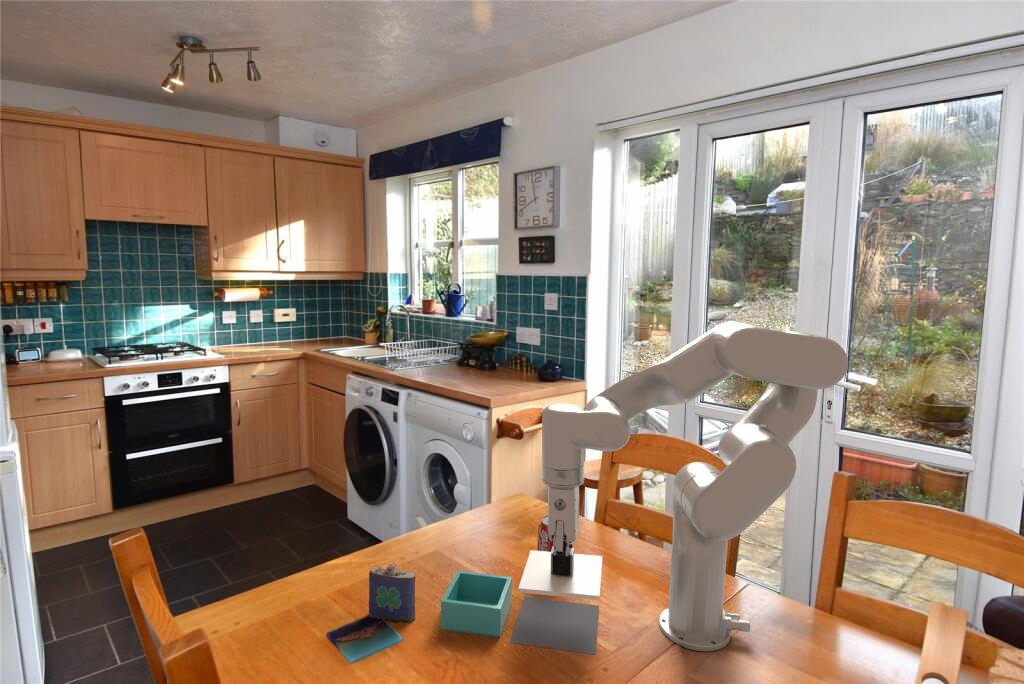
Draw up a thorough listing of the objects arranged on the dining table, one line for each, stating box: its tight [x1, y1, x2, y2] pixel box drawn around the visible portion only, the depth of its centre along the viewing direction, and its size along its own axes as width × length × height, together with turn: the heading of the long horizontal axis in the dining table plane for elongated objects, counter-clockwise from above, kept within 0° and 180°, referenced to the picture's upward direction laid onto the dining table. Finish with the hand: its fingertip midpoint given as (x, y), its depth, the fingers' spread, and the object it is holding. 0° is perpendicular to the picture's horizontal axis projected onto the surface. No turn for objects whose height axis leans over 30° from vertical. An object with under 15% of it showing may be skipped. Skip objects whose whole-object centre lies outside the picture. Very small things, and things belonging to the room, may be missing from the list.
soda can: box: [536, 514, 571, 552], centre depth 127 cm, size 7×7×12 cm
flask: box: [368, 562, 416, 624], centre depth 110 cm, size 9×3×11 cm, turn 78°
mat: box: [509, 596, 600, 656], centre depth 109 cm, size 15×15×1 cm
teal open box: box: [440, 570, 513, 638], centre depth 111 cm, size 11×11×6 cm
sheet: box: [518, 547, 603, 601], centre depth 108 cm, size 14×14×5 cm
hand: (562, 568), depth 108 cm, fingers closed on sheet, 3 cm apart
